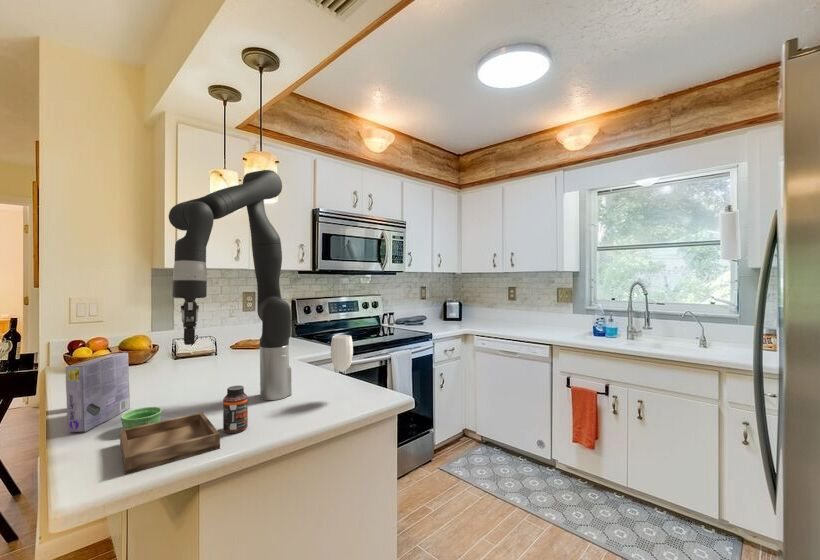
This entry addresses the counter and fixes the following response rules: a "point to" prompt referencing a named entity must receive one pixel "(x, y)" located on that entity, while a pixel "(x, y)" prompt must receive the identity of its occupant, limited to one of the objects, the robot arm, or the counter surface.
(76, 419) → the cake pan box
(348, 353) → the cup
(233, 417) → the supplement bottle
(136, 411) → the ramekin
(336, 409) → the counter surface
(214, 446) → the walnut tray
